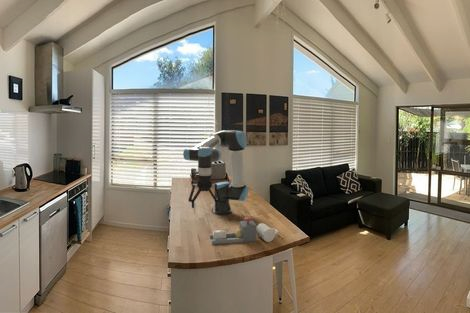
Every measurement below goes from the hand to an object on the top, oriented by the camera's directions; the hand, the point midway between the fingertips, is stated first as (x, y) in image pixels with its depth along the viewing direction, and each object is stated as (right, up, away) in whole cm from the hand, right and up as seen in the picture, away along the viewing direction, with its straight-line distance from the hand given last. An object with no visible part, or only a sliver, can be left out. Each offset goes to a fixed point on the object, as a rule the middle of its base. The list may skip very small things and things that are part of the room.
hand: (204, 212), depth 154 cm
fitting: (+8, -17, +4) cm, 19 cm away
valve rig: (+16, -18, +6) cm, 25 cm away
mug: (+37, -18, +11) cm, 43 cm away
